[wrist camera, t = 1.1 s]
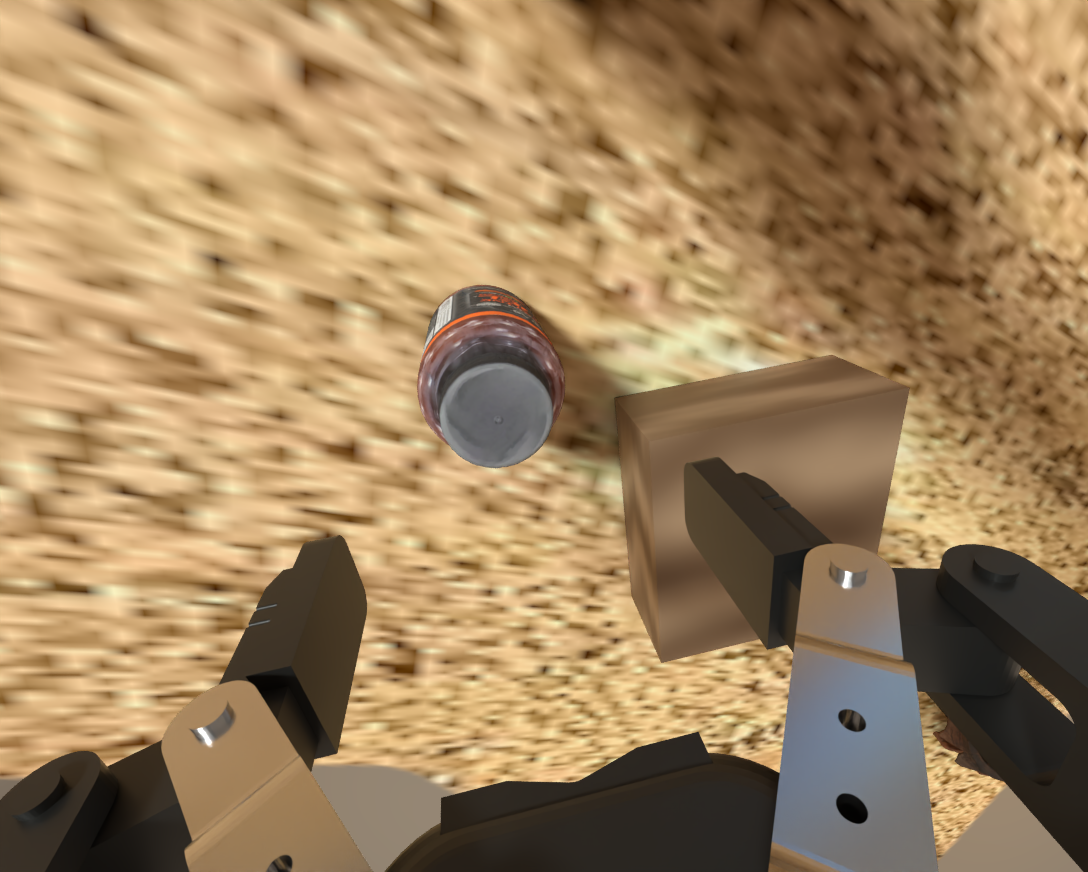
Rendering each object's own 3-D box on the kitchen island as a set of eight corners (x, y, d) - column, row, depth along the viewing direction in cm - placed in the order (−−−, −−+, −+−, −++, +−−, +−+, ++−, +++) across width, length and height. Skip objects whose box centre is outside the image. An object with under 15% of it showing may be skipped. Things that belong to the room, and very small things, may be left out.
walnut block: (614, 397, 30) (649, 441, 25) (832, 354, 31) (909, 387, 26) (631, 596, 37) (661, 662, 32) (808, 555, 39) (865, 613, 33)
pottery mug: (901, 739, 53) (958, 791, 45) (904, 648, 54) (961, 684, 45) (1024, 751, 52) (1105, 806, 44) (1026, 658, 53) (1108, 697, 44)
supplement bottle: (555, 308, 27) (613, 374, 17) (512, 404, 29) (542, 512, 19) (449, 262, 26) (447, 306, 16) (411, 367, 28) (387, 466, 18)
